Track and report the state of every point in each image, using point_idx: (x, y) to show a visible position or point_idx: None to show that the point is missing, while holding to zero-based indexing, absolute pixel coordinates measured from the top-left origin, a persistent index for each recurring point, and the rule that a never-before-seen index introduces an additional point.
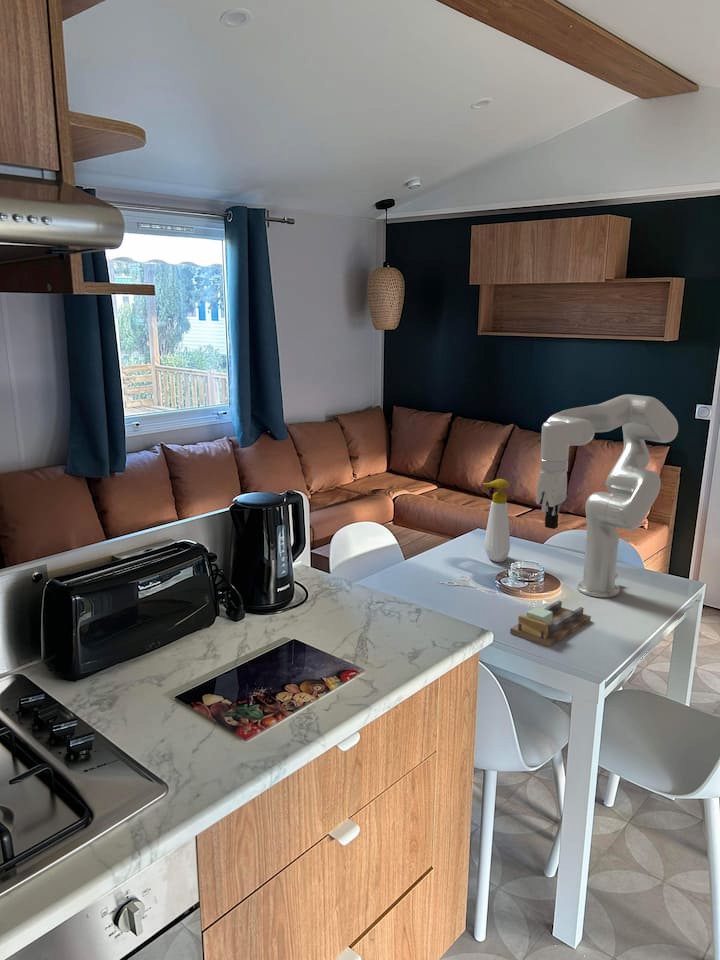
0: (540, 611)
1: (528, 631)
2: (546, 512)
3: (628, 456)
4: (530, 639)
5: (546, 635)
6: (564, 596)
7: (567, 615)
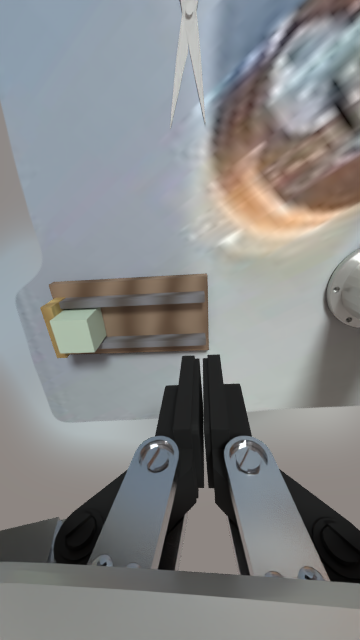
0: (75, 337)
1: None
2: (110, 493)
3: None
4: None
5: None
6: (291, 252)
7: (152, 342)
